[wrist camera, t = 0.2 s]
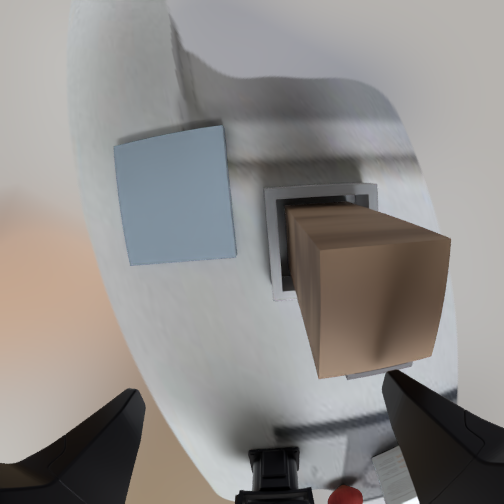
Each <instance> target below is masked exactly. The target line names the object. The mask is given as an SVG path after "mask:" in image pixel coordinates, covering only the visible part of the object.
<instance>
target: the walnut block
mask: <svg viewBox="0 0 504 504" xmlns="http://www.w3.org/2000/svg"><path fill="white" fill-rule="evenodd" d="M284 208H285V221H286V235H287V250H288V266H289V271H290V274H291V278H292V281H293V285H294V288H295V292H296V295H297V299H298V303H299V306H300V310H301V314H302V317H303V321H304V325H305V328H306V332H307V336H308V340H309V343H310V347H311V351H312V355H313V359H314V363H315V366H316V370H317V374H318V378H319V379H322V378H330V377H337V376H343V375H349V374H355V373H361V372H366V371H371V370H376V369H381V368H386V367H391V366H395V365H399V364H404V363H408V362H412V361H415V360H419V359H423V358H427V357H430V356H431V355H432V352H433V348H434V344H435V340H436V336H437V332H438V327H439V322H440V318H441V313H442V307H443V302H444V296H445V290H446V283H447V275H448V267H449V257H450V246H451V239H450V238H448V237H446V236H443V235H441V234H438V233H436V232H433V231H430V230H428V229H425V228H423V227H420V226H417V225H415V224H412V223H409V222H406V221H404V220H401V219H398V218H395V217H392V216H389V215H387V214H384V213H381V212H378V211H375V210H372V209H369V208H366V207H363V206H360V205H356V204H353V203H350V202H347V201H345V202H327V203H311V204H297V205H284Z"/></svg>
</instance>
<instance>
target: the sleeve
mask: <svg viewBox="0 0 504 504" xmlns="http://www.w3.org/2000/svg"><path fill="white" fill-rule="evenodd" d="M338 195H355V200H356V205H360V206H363V207H366V208H369V209H372V210H375V211H378V191H377V184H372V183H338V184H317V185H300V186H285V187H272V188H264V197H265V208H266V219H267V231H268V243H269V255H270V267H271V280H272V292H273V301H283V300H294V299H297V295H296V292H295V288H294V285H293V281H292V278H291V276H288V277H281V262H280V247H279V234H278V221H277V209H276V199H290V198H304V197H320V196H338Z"/></svg>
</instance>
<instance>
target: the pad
mask: <svg viewBox="0 0 504 504" xmlns="http://www.w3.org/2000/svg"><path fill="white" fill-rule="evenodd" d="M114 158H115V169H116V179H117V188H118V196H119V204H120V211H121V217H122V224H123V230H124V236H125V241H126V247H127V252H128V257H129V262H130V266H134V265H147V264H160V263H172V262H185V261H197V260H210V259H222V258H234V257H236V256H237V249H236V240H235V230H234V221H233V212H232V202H231V193H230V183H229V173H228V163H227V153H226V143H225V132H224V127H223V125H219V126H212V127H205V128H199V129H192V130H187V131H181V132H176V133H170V134H165V135H160V136H156V137H151V138H146V139H142V140H138V141H134V142H130V143H126V144H122V145H118V146H114Z"/></svg>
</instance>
